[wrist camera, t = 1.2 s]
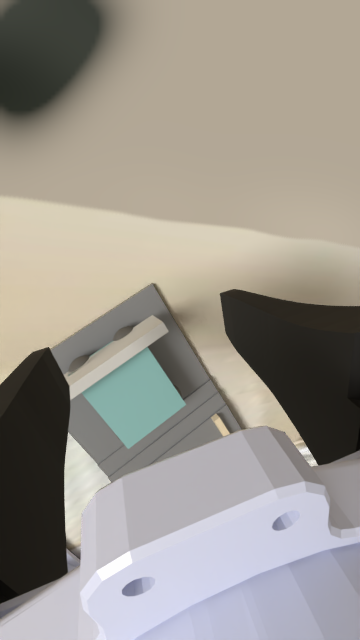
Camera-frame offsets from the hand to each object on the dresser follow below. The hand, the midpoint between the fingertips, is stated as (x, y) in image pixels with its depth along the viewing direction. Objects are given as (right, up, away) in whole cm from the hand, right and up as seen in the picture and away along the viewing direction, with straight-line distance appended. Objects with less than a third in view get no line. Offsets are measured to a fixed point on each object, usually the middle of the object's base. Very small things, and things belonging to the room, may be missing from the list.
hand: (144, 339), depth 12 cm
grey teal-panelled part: (-3, -4, +12) cm, 13 cm away
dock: (0, -9, +14) cm, 17 cm away
